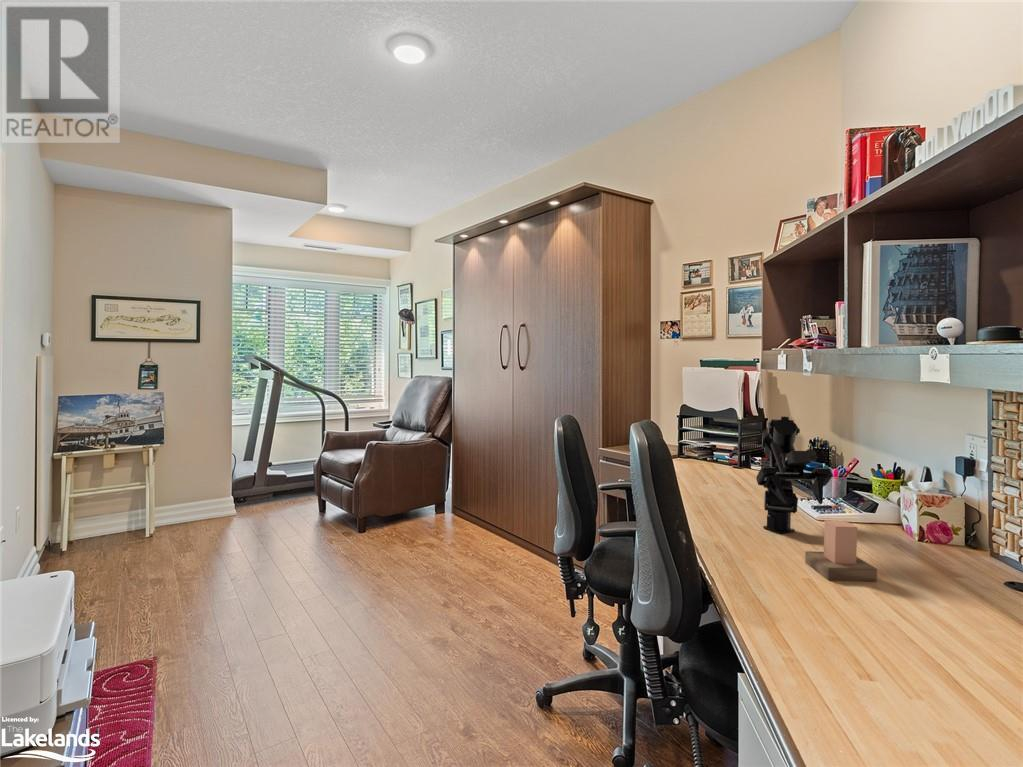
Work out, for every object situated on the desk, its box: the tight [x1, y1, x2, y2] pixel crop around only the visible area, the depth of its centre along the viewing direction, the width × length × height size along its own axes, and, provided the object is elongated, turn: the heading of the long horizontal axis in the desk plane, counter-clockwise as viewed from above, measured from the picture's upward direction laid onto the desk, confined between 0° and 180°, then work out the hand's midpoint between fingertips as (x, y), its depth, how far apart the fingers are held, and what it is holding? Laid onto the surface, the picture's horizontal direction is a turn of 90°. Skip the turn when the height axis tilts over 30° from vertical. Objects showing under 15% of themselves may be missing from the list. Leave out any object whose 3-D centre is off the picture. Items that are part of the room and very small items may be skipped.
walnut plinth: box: [804, 550, 878, 582], centre depth 130 cm, size 11×11×3 cm
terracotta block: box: [823, 519, 858, 564], centre depth 129 cm, size 5×5×9 cm
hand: (803, 503), depth 142 cm, fingers open, 9 cm apart
